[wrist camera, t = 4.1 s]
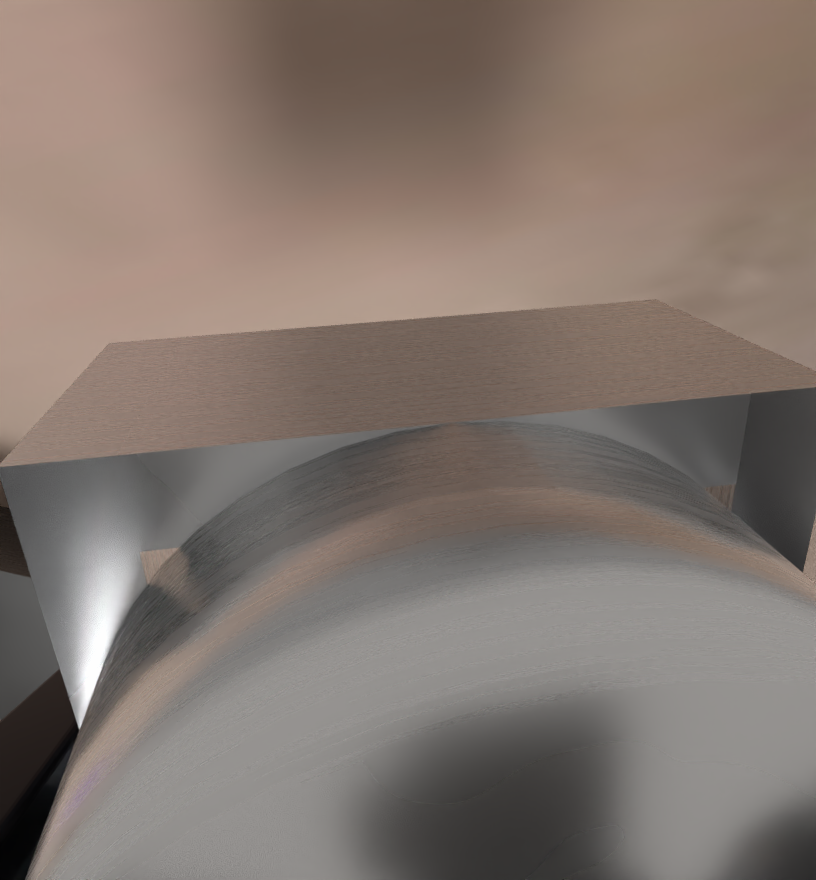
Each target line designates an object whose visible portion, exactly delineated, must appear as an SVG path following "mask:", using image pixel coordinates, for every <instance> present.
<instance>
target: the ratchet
mask: <svg viewBox="0 0 816 880" xmlns="http://www.w3.org/2000/svg"><path fill="white" fill-rule="evenodd" d="M59 668H60V667H59V664H58V661H57V658H56V654H55V651H54V648H53V645H52V642H51V639H50V635H49V632H48V629H47V626H46V623H45V619H44V616H43V613H42V610H41V607H40V604H39V600H38V597H37V594H36V591H35V588H34V584H33V581H32V578H31V575H30V572H29V569H28V565H27V562H26V559H25V556H24V553H23V549H22V546H21V543H20V540H19V537H18V534H17V530H16V527H15V524H14V521H13V518H12V514H11V511H10V509H9V508H5V507H1V506H0V720H2V719H3V718H4V717H5V716H6V715H7V714H9V713H10V712H11V711H12V710H13V709H14V708H15V707H16V706H18V705H19V704H20V703H21V702H22V701H23V700H24V699H25V698H27V697H28V696H29V695H30V694H31V693H32V692H33V691H34V690H36V689H37V688H38V687H39V686H40V685H41V684H42V683H44V682H45V681H46V680H47V679H48V678H49V677H50V676H51V675H53V674H54V673H55V672H56V671H57V670H58V669H59Z"/></svg>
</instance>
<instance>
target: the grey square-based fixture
mask: <svg viewBox="0 0 816 880" xmlns="http://www.w3.org/2000/svg"><path fill="white" fill-rule="evenodd" d="M0 479H1V483H2V486H3V489H4V492H5V495H6V499H7V502H8V505H9V508H10V511H11V514H12V518H13V521H14V524H15V527H16V530H17V534H18V537H19V540H20V543H21V546H22V549H23V553H24V556H25V559H26V562H27V565H28V569H29V572H30V575H31V578H32V581H33V584H34V588H35V591H36V594H37V597H38V600H39V604H40V607H41V610H42V613H43V616H44V619H45V623H46V626H47V629H48V632H49V635H50V639H51V642H52V645H53V648H54V651H55V654H56V658H57V661H58V664H59V667H60V670H61V674H62V677H63V680H64V683H65V686H66V689H67V693H68V696H69V699H70V702H71V705H72V709H73V712H74V715H75V718H76V721H77V724H78V728H79V733H78V735H77V738H76V741H75V744H74V746H73V749H72V752H71V755H70V757H69V760H68V763H67V766H66V768H65V771H64V774H63V777H62V779H61V782H60V785H59V788H58V790H57V793H56V796H55V799H54V801H53V804H52V807H51V810H50V812H49V815H48V818H47V821H46V823H45V826H44V829H43V832H42V834H41V837H40V840H39V842H38V845H37V848H36V851H35V853H34V856H33V859H32V862H31V864H30V867H29V870H28V873H27V875H26V878H25V880H816V584H815V583H814V582H813V581H812V580H811V579H809V578H808V577H807V576H806V575H805V574H804V573H803V569H804V564H805V560H806V555H807V551H808V546H809V541H810V537H811V532H812V528H813V523H814V519H815V514H816V371H813V370H811V369H809V368H807V367H805V366H802V365H800V364H798V363H796V362H793V361H791V360H789V359H787V358H785V357H782V356H780V355H778V354H776V353H773V352H771V351H769V350H767V349H765V348H762V347H760V346H758V345H756V344H753V343H751V342H749V341H747V340H745V339H742V338H740V337H738V336H736V335H733V334H731V333H729V332H727V331H725V330H722V329H720V328H718V327H716V326H713V325H711V324H709V323H707V322H705V321H702V320H700V319H698V318H696V317H693V316H691V315H689V314H687V313H685V312H682V311H680V310H678V309H676V308H673V307H671V306H669V305H667V304H665V303H662V302H660V301H658V300H645V301H633V302H620V303H608V304H595V305H582V306H570V307H557V308H545V309H532V310H520V311H507V312H495V313H482V314H469V315H457V316H444V317H432V318H419V319H407V320H394V321H382V322H369V323H356V324H344V325H331V326H319V327H306V328H294V329H281V330H269V331H256V332H244V333H231V334H218V335H206V336H193V337H181V338H168V339H156V340H143V341H131V342H118V343H109V344H108V345H107V346H106V347H105V348H104V349H103V350H102V352H101V353H100V354H99V355H98V356H97V357H96V358H95V359H94V360H93V362H92V363H91V364H90V365H89V366H88V367H87V368H86V369H85V370H84V371H83V373H82V374H81V375H80V376H79V377H78V378H77V379H76V380H75V381H74V382H73V384H72V385H71V386H70V387H69V388H68V389H67V390H66V391H65V392H64V394H63V395H62V396H61V397H60V398H59V399H58V400H57V401H56V402H55V403H54V405H53V406H52V407H51V408H50V409H49V410H48V411H47V412H46V413H45V415H44V416H43V417H42V418H41V419H40V420H39V421H38V422H37V423H36V424H35V426H34V427H33V428H32V429H31V430H30V431H29V432H28V433H27V434H26V436H25V437H24V438H23V439H22V440H21V441H20V442H19V443H18V444H17V445H16V447H15V448H14V449H13V450H12V451H11V452H10V453H9V454H8V455H7V457H6V458H5V459H4V460H3V461H2V462H1V463H0Z"/></svg>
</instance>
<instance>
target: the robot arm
mask: <svg viewBox="0 0 816 880" xmlns="http://www.w3.org/2000/svg"><path fill="white" fill-rule="evenodd" d="M78 733H79V728H78V724H77V721H76V718H75V715H74V712H73V709H72V705H71V702H70V699H69V696H68V693H67V689H66V686H65V683H64V680H63V677H62V674H61V670H60V668H59V669H58V670H57V671H56V672H55V673H54V674H53V675H51V676H50V677H49V678H48V679H47V680H46V681H45V682H44V683H42V684H41V685H40V686H39V687H38V688H37V689H36V690H34V691H33V692H32V693H31V694H30V695H29V696H28V697H27V698H25V699H24V700H23V701H22V702H21V703H20V704H19V705H18V706H16V707H15V708H14V709H13V710H12V711H11V712H10V713H9V714H7V715H6V716H5V717H4V718H3V719H2V720H1V721H0V880H25V878H26V875H27V873H28V870H29V867H30V864H31V862H32V859H33V856H34V853H35V851H36V848H37V845H38V842H39V840H40V837H41V834H42V832H43V829H44V826H45V823H46V821H47V818H48V815H49V812H50V810H51V807H52V804H53V801H54V799H55V796H56V793H57V790H58V788H59V785H60V782H61V779H62V777H63V774H64V771H65V768H66V766H67V763H68V760H69V757H70V755H71V752H72V749H73V746H74V744H75V741H76V738H77V735H78Z"/></svg>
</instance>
